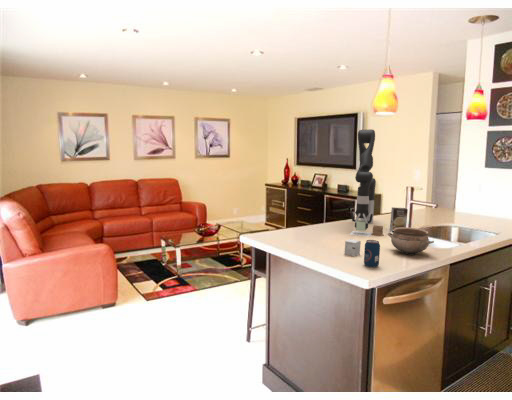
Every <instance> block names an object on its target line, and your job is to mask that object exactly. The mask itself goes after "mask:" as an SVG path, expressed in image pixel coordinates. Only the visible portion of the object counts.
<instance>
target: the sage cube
mask: <svg viewBox="0 0 512 400" xmlns="http://www.w3.org/2000/svg"><path fill="white" fill-rule="evenodd" d="M365 227H366V222H365V221H360V219H358V221H357V223H356V227H355V231H359V232H366V230H367V229H365Z"/></svg>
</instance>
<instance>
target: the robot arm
mask: <svg viewBox="0 0 512 400" xmlns="http://www.w3.org/2000/svg"><path fill="white" fill-rule="evenodd" d="M357 141H358V142H357V143H358V151H359V158H358V161H359V165H358V169H357V171H356V174H355V181H356V182H357V183H359V185H360V186H358V187H357V196H356V197H357V198H356V208H355V209H356V210H355V211H351V213H350V215H351V221H352V222H354V228H356V223H357V221H358V220H360V221H365V222H366V227H365V229H366V230H367V229H369V224H373V223H374V211H375V210H374V209H375V192H376V179H375V178H374V175H373V172H371V169H372V168H373V167H374V156H373V151H374V148H375V147H374V145H375V141H376V131H375V130H374V129H373V128H372V129H369V128H368V129H359V131H358V133H357ZM366 144H368V146H366ZM355 215H356V218H355Z"/></svg>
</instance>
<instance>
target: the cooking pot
mask: <svg viewBox="0 0 512 400" xmlns="http://www.w3.org/2000/svg"><path fill="white" fill-rule="evenodd" d="M393 230H394V232H388V233H387V236H388V237H389V238H391V240H390V241H391V245H392V246H393V247H394V248H395V249H397V250H398V251H400V253H402V254H403V255H409V254H414V255H417V254H419V253H421V252H424V251H425V250H427V248H428V247H429V245H431V244H433V243H435V240H430V239H429V236H428V234H429V231H428V230H425V229H422V228H421V229H420V228H418V227H417V228H416V227H407V226H406V227H399V228H394V229H393Z"/></svg>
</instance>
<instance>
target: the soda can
mask: <svg viewBox="0 0 512 400" xmlns="http://www.w3.org/2000/svg"><path fill="white" fill-rule="evenodd" d="M380 248H381V244H380V241H378V240H374V239H368V240H366V241H365V244H364V253H363V255H364V256H363V263H364V266H365V267H367V268H373V269H374V268H377V267H378V266H379V264H380V252H381V249H380Z"/></svg>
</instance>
